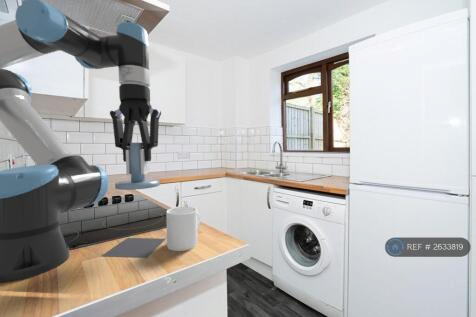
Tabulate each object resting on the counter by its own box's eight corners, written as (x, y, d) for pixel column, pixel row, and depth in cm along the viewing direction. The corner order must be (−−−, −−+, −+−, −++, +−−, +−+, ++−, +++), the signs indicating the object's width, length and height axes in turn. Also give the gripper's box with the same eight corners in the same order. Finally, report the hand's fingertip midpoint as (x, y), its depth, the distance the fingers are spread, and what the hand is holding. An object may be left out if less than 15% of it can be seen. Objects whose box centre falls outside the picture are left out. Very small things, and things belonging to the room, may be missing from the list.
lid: (105, 189, 57) (103, 142, 57) (130, 183, 68) (128, 143, 68) (147, 189, 56) (146, 141, 56) (165, 183, 67) (164, 142, 67)
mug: (189, 234, 73) (189, 202, 73) (210, 239, 69) (210, 205, 69) (160, 249, 63) (159, 212, 62) (183, 255, 59) (183, 216, 58)
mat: (100, 258, 57) (100, 256, 57) (127, 239, 69) (127, 237, 69) (146, 260, 56) (146, 257, 56) (166, 240, 68) (165, 238, 68)
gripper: (96, 83, 58) (99, 175, 59) (158, 80, 57) (161, 175, 58) (114, 91, 66) (117, 172, 67) (169, 88, 64) (172, 172, 65)
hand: (137, 173), depth 62 cm, fingers closed on lid, 3 cm apart
